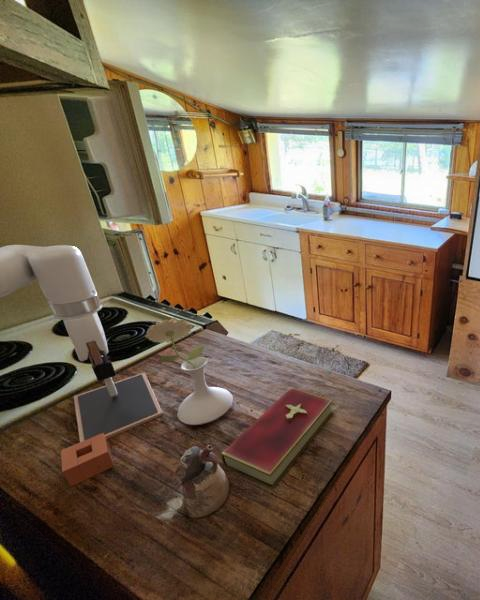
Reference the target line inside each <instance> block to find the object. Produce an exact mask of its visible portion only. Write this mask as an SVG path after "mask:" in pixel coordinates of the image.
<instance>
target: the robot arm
mask: <svg viewBox="0 0 480 600" xmlns="http://www.w3.org/2000/svg"><path fill="white" fill-rule="evenodd" d="M84 258H85V257H84V255H83V253H82V252H81V250H80V249H79V248H78V247H76V246H73V245H67V244H58V245H48V246H38V245H29V244H28V245H27V244H26V245H25V244H10V245H8V244H7V245H4V246H1V247H0V298H3V297H5V296H8V295H10V294H12V293H13V292H15V291H17V290H19V289H21V288H23V287H25V286H26V285H29V284H32V283H34V282H37V283H38V285H39V288H40V289H41V291H42V293H43V295H44V297H45V300H46V302H47V304H48V306H49V308H50V310H51V313H52V315H53V317H54V318H55V319H57V320H62V321H63V324H64V327H65V329H66V332H67V334H68V337H69V339H70V341H71V344H72V346H73V348H74V351H75V353H76V355H77V356H76V357H77V358H78V361H79V362H83V363H84V362H85V361H87V360H88V359H89V360H90V364H91V368H92V370H93V374H94V375H95V377H96V380H97V381H98V382H101V381H104V379H107V378H110V377H112V378H114V377H115V376H116V375H117V374H116V371H115V368H114V365H113V363H112V361H111V357H110V356H108V354H109V348H108V343H107V338H106V335H105V331H104V327H103V325H102V322H101V319H100V317H99V315H98V312H99V311H101V310H102V309H103V305H102V302H101V299H100V297H99V294H98V292H97V290H96V286H95V284H94V281H93V279H92V277H91V274H90V271H89V267H88V266H87V264H86V261H85V259H84ZM102 355H103V356H102ZM101 356H102V357H101Z"/></svg>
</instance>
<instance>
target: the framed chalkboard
mask: <svg viewBox="0 0 480 600" xmlns="http://www.w3.org/2000/svg"><path fill="white" fill-rule="evenodd" d="M114 385H115V387H116V390H117V392H118V394H117V397H116V398H113V397H112V396H110V394H109V391H108V389H107V386H106V385H103V386H100V387H97V388H93V389H91V390H88V391H85V392H82V393H80V394H79V393H78V394H77V395H74V396H73V401H74V402H73V403H74V408H75V409H74V410H75V415H76V416H75V417H76V423H77V430H78V438H79V443H80V442H82V441H85V440H87V439H90V438H92V437H94V436H97V435H99V434H102V433H104V435H105V437H106V439H107V440H108V439H110V438H113V437H115V436H117V435H119V434H122V433H124V432H127V431H129V430H131V429H133V428H136V427H138V426H141V425H143V424H146V423H148V422H150V421H152V420H155V419H157V418H159V417H162V416H164V412H163V410H162V407H161V406H160V403H159V401H158V399H157V397H156V395H155V392H154V391H153V388H152V386H151V383H150V382H149V379H148V376H147V374H146V372H141V373H138V374H135V375H133V376H129V377H127V378H124V379H120V380H117V381H115V382H114Z"/></svg>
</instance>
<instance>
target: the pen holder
mask: <svg viewBox="0 0 480 600" xmlns="http://www.w3.org/2000/svg"><path fill="white" fill-rule="evenodd" d="M60 460H61V461H60V463H61V473H62V474H63V476H64V477H65V479H66V481H67V482H68V483H67V484H68V485H69V487H73V486H75V485H78V484H80V483H82V482H84V481H87V480H88V479H91V478H93V477H95V476H97V475H99V474H101V473H104V472H105V471H107V470H109V469H112V468H114V467H115V462H114V457H113V452H112V450H111V446H110V443H109V442H108V439H106V437H105V435H104V433H102V434H99V435H97V436H94V437H92V438H90V439H87V440H85V441H82V442H80V441H79V442H77V443H75V444H73V445H71V446H68V447H66V448H62V449H61V450H60Z"/></svg>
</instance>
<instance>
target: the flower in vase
mask: <svg viewBox="0 0 480 600" xmlns="http://www.w3.org/2000/svg"><path fill="white" fill-rule="evenodd" d="M192 329H193V326H192V324H190V323H189V321H188V320H185V319H178V320H177V318H176V317H173V318H171V319H164V320H163V321H161V320H158V321H156V322H155V324H151V325H150V326H149V328H147V330H146V334H144V338H146V339H148V341H152V343H158V344H163V343H165V342H166V343H172V347H173V350H174V352H175V354H168V355H163V356H161V357H160V358H159V359H158V360H157V361H156V362H155V364H161V363H172V362H175V361H176V360H177V359H178V358H180V359H182V360H183V362H182V363H181V365H180V368H181V370H183V371H185V372H187V373H188V374H189V376H190V378H191V379H192V382H193V385H194V390H193V392H192V393H191V394H189V395H188V396H187V397H186V398H184V399H183V401H182V402H181V403H180V404H179V406H178V409H177V413H176V414H177V419H178V420H179V421H180V422H181V423H184V424H186V425H190V426H201V425H205V424H208V423H211V422H214V421H216V420H218V419H220V417H222V416H224V415H225V414H226V413H228V411H229V410H230V408H231V407H232V405H233V403H234V397H233V394H232V393H231V392H230V391H229V390H228V389H226V388H222V387H218V386H209V385H208V383H207V381H206V378H205V377H206V376H205V367H206V365H207V364H208V358H207V357H206V356H205V357H204V356H201V354H202V353H203V352H204V348H205V345H204V344H203V345H201V346H199V347H196V348H194V349H192V350H191V351H190V353H189V354H188V357H187V358H185V357H184V356H182V355H180V354H179V352H178V351H177V349H176V345H175V342H176V341H178V340H180V339H183V338H184V337H186V336H190V332H191V330H192Z"/></svg>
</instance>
